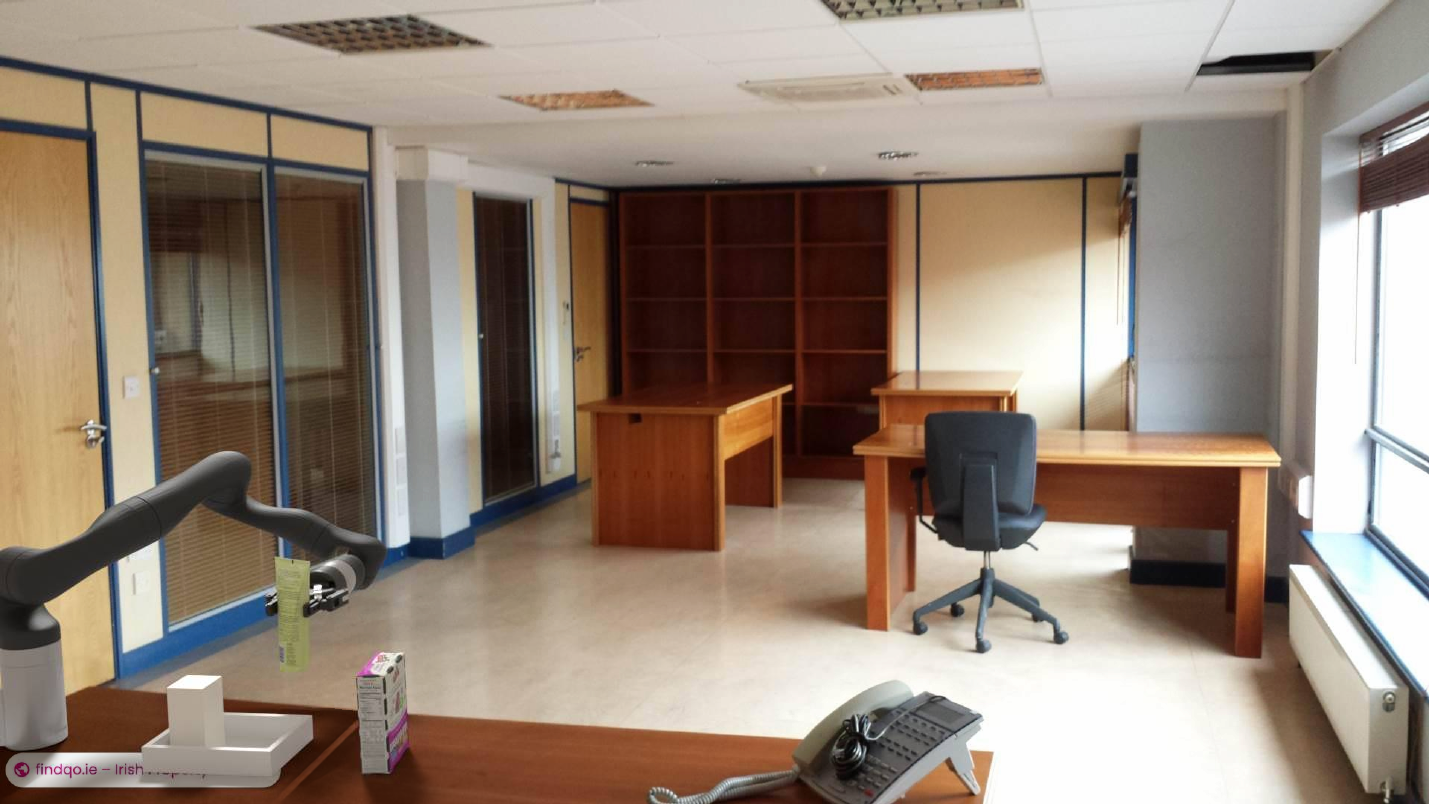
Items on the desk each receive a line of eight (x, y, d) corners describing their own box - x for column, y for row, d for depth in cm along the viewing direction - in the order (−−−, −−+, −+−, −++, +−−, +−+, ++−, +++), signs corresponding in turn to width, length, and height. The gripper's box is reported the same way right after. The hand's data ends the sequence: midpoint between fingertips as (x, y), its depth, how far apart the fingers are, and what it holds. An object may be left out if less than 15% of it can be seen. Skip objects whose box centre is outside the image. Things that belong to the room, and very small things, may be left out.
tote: (143, 777, 185) (141, 747, 185) (194, 739, 200) (192, 711, 200) (271, 782, 184) (270, 751, 183) (313, 743, 198) (312, 715, 198)
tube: (313, 662, 208) (309, 553, 205) (314, 671, 203) (310, 560, 201) (279, 666, 206) (274, 556, 203) (279, 675, 201) (274, 563, 199)
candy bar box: (380, 746, 197) (376, 651, 195) (409, 746, 197) (406, 651, 195) (358, 775, 186) (354, 674, 184) (390, 775, 186) (386, 674, 184)
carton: (170, 760, 190) (166, 687, 188) (190, 745, 196) (186, 675, 194) (206, 761, 189) (202, 688, 188) (225, 746, 195) (221, 676, 194)
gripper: (366, 605, 217) (328, 634, 200) (291, 603, 218) (246, 631, 201) (365, 565, 216) (326, 591, 199) (289, 564, 217) (244, 588, 201)
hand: (286, 611), depth 200 cm, fingers closed on tube, 5 cm apart
